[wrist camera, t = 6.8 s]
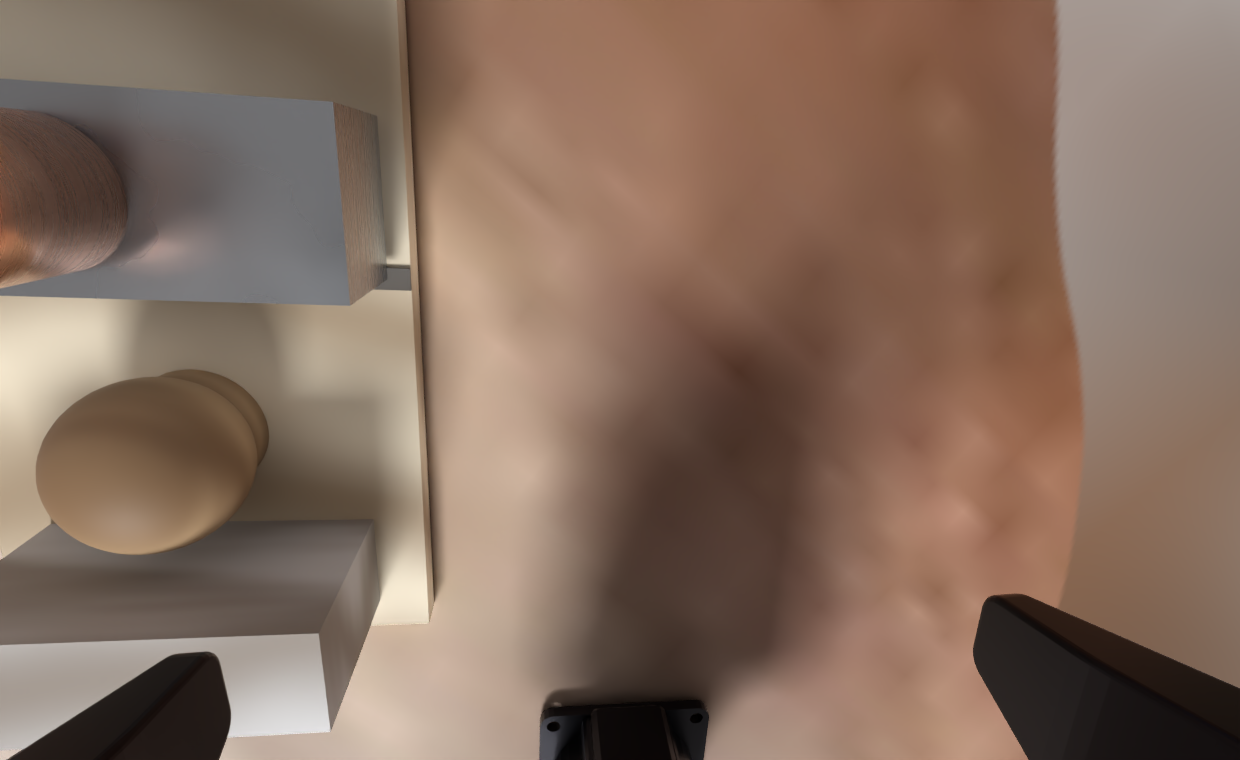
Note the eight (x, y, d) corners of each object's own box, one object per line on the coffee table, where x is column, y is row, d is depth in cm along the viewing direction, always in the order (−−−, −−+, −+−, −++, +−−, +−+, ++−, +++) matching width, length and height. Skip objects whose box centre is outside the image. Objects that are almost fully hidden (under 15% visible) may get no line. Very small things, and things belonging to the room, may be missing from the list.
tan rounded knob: (291, 497, 19) (220, 591, 14) (132, 498, 18) (9, 597, 14) (273, 357, 17) (188, 416, 13) (100, 353, 17) (-48, 415, 12)
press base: (433, 603, 22) (395, 758, 16) (51, 615, 20) (-142, 791, 14) (396, -173, 15) (303, -390, 9) (-196, -248, 13) (-766, -569, 7)
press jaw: (387, 279, 16) (236, 386, 8) (-85, 262, 15) (-824, 373, 7) (377, 115, 15) (187, 55, 7) (-141, 81, 14) (-1128, -47, 6)
